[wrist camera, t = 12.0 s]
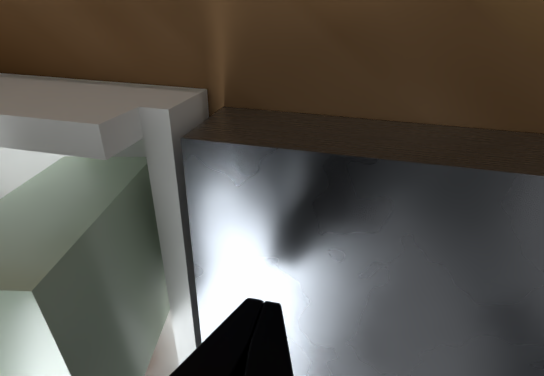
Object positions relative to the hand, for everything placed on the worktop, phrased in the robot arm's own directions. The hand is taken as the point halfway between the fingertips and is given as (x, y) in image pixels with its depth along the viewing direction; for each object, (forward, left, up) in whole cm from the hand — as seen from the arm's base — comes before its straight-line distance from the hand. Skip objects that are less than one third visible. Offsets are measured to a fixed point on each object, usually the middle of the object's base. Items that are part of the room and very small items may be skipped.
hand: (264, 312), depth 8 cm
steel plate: (-4, -5, -4) cm, 8 cm away
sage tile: (-1, +4, -1) cm, 4 cm away
